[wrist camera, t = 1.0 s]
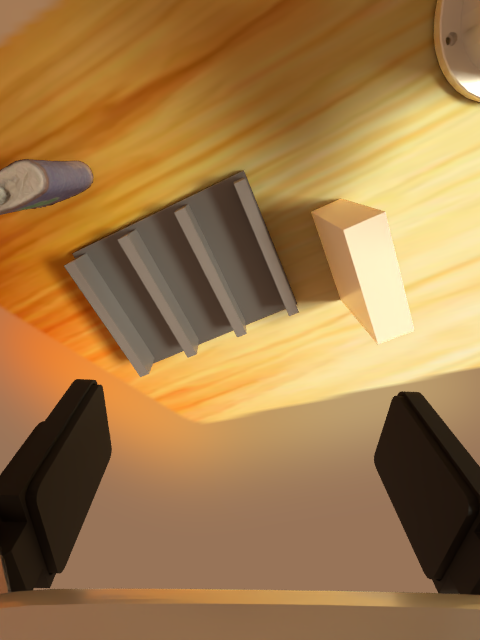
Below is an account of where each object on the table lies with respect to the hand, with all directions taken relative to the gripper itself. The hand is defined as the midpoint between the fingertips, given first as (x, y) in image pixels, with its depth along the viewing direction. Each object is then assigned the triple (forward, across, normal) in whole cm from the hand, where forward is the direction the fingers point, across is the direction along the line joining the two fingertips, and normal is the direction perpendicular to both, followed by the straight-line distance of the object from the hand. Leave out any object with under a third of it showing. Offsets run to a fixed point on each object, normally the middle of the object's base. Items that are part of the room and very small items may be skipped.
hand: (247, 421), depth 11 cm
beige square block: (+25, -10, 0) cm, 27 cm away
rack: (+25, +5, +4) cm, 25 cm away
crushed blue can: (+25, +18, -4) cm, 31 cm away
